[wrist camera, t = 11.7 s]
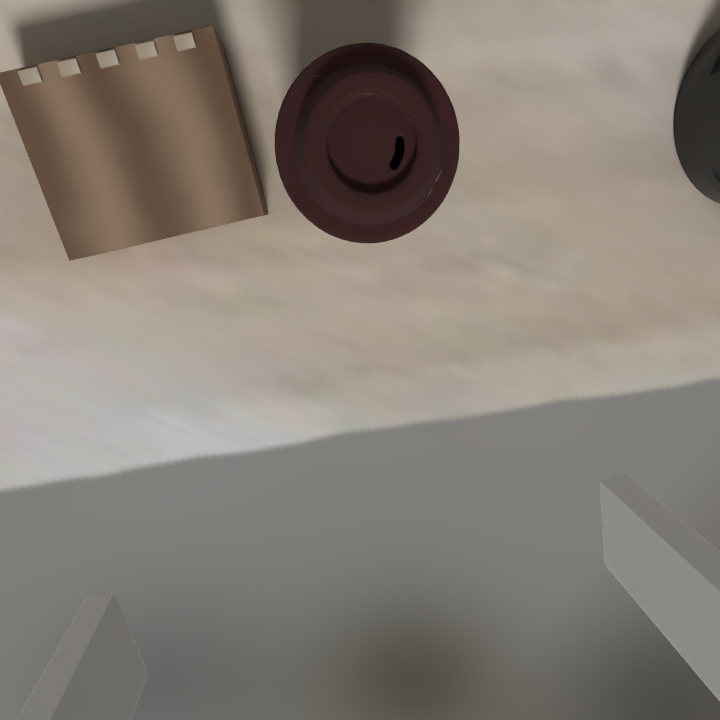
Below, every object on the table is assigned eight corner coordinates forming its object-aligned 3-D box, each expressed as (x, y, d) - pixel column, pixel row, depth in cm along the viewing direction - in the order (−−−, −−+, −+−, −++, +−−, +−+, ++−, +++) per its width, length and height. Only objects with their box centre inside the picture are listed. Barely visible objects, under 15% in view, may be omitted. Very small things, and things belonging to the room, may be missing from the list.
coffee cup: (257, 162, 39) (229, 135, 25) (352, 66, 38) (380, -19, 24) (345, 258, 42) (366, 284, 28) (436, 172, 41) (507, 152, 26)
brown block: (222, 44, 37) (212, 24, 33) (268, 214, 40) (263, 214, 36) (28, 87, 36) (-7, 72, 32) (91, 255, 40) (67, 260, 36)
